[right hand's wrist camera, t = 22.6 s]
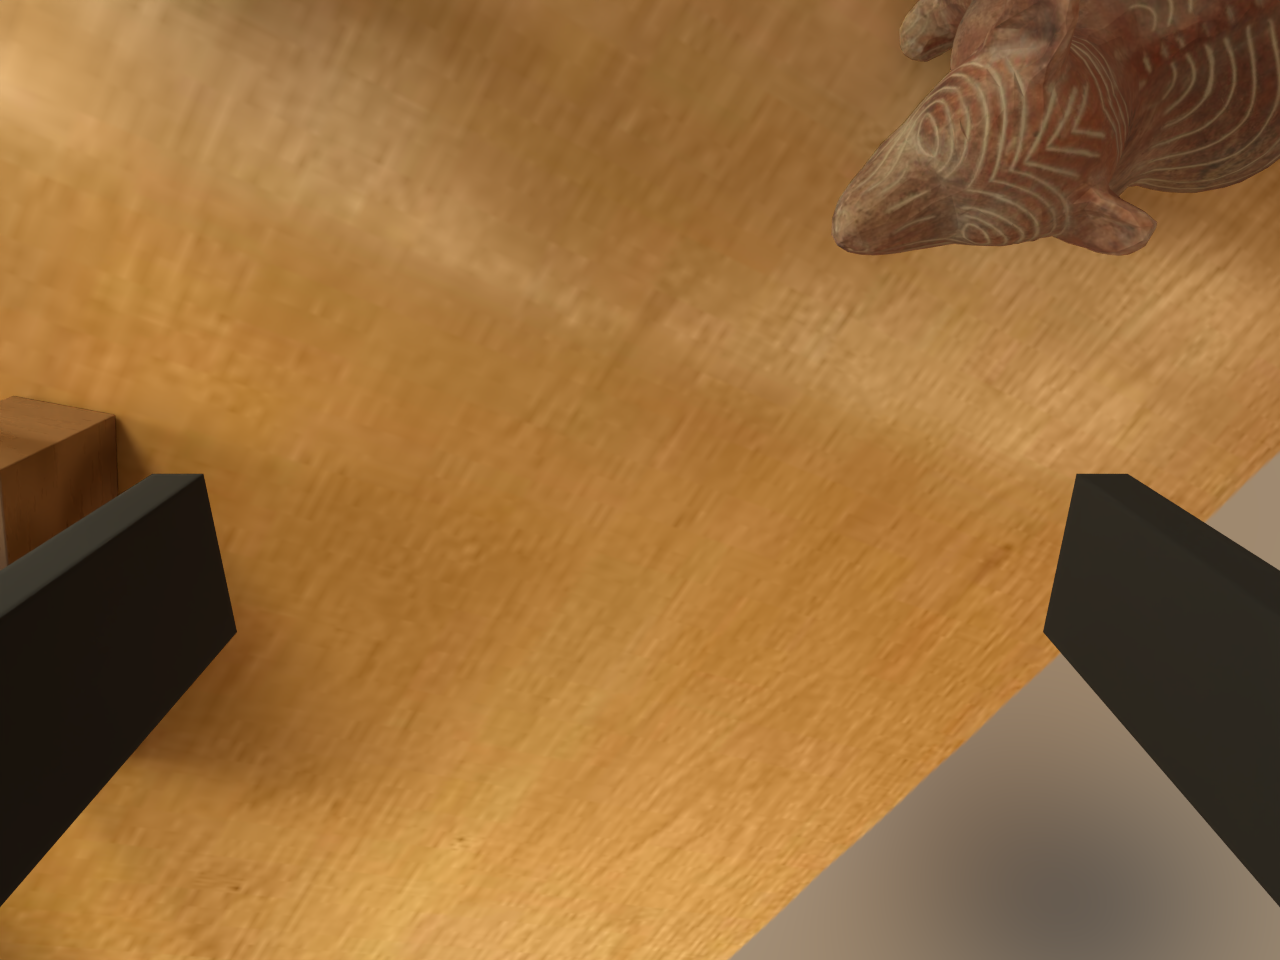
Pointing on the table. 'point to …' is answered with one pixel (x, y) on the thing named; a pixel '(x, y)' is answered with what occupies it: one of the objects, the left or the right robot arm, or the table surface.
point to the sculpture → (1067, 121)
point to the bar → (51, 471)
